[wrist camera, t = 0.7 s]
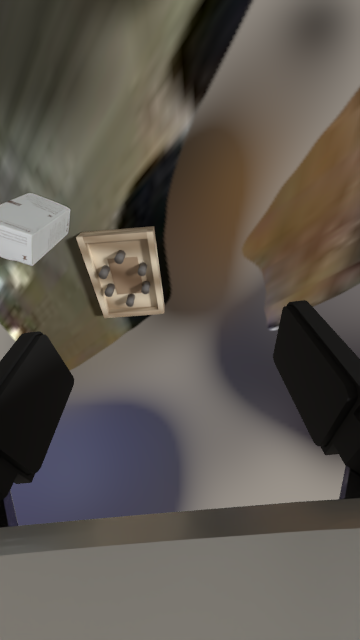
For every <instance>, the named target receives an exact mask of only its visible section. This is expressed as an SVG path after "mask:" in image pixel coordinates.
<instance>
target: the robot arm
mask: <svg viewBox="0 0 360 640" xmlns="http://www.w3.org/2000/svg"><path fill="white" fill-rule="evenodd" d="M273 358H274V362H275V365H276V367H277V369H278V371H279V373H280V375H281V377H282V379H283V381H284V383H285V385H286V387H287V389H288V391H289V393H290V395H291V397H292V399H293V401H294V403H295V405H296V407H297V409H298V411H299V413H300V415H301V417H302V419H303V421H304V423H305V425H306V427H307V429H308V432H309V433H310V435H311V437H312V439H313V441H314V443H315V444H316V445H317V446H321V448H322V450H323V452H324V454H325V455H332V454H339V455H340V457H341V458H342V460H343V462H344V463H345V465H346V466H345V471H344V477H343V482H342V487H341V492H340V497H339V499H338V500H324V501H323V500H322V501H307V502H292V503H279V504H269V505H255V506H243V507H231V508H219V509H206V510H194V511H183V512H171V513H160V514H148V515H136V516H125V517H113V518H103V519H90V520H79V521H68V522H57V523H46V524H35V525H24V526H18V522H17V518H16V513H15V509H14V504H13V500H12V496H11V492H10V489H11V487H12V485H13V482H14V483H16V484H20V483H30V482H32V480H33V477H34V475H35V473H36V472H38V470H39V469H40V468H41V465H42V463H43V461H44V458H45V455H46V453H47V450H48V448H49V445H50V443H51V440H52V438H53V435H54V433H55V430H56V428H57V425H58V423H59V420H60V417H61V415H62V413H63V410H64V408H65V405H66V402H67V400H68V397H69V395H70V392H71V390H72V387H73V385H74V378H73V376H72V374H71V373H70V371H69V369H68V368H67V366H66V365H65V363H64V362H63V360H62V359H61V357H60V355H59V354H58V352H57V351H56V349H55V348H54V346H53V344H52V343H51V341H50V340H49V338H48V337H47V336H46V335H43V334H42V333H41V332H30V333H24V334H22V335H21V336H20V337H19V338H18V339H17V341H16V342H15V343H14V345H13V346H12V347H11V348H10V350H9V351H8V352H7V353H6V355H5V356H4V357H3V359H2V360H1V361H0V640H360V359H359V358H358V357H357V356H356V354H355V353H354V352H353V351H352V350H351V349H350V348H349V347H348V346H347V345H346V343H345V342H344V341H343V340H342V339H341V338H340V337H339V336H338V335H337V334H336V333H335V331H334V330H333V329H332V328H331V327H330V326H329V325H328V324H327V322H326V321H325V320H324V319H323V318H322V317H321V316H320V315H319V314H318V313H317V311H316V310H315V309H314V308H313V307H312V306H311V305H310V304H309V303H308V302H307V301H305V300H304V301H295V302H289V303H288V304H287V306H285V307H284V308H283V310H282V315H281V320H280V325H279V329H278V334H277V339H276V344H275V349H274V354H273Z"/></svg>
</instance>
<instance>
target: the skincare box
mask: <svg viewBox="0 0 360 640" xmlns="http://www.w3.org/2000/svg"><path fill="white" fill-rule="evenodd" d="M69 220H70V209H69V208H68V207H66V206H64V205H61V204H59V203H57V202H54V201H52V200H49V199H46V198H44V197H41V196H38V195H35V194H32V193H27V194H25V195H22V196H20V197H18V198H15V199H13V200H10V201H8V202H5V203H3V204H0V257H2V258H5V259H8V260H14V261H18V262H21V263H24V264H28V265H31V266H33V265H34V264H35V263H36V262H37V261H38V260H39V259H41V258H42V257H43V256H44V255H45V254H46V253H47V252H48V251H49V250H51V249H52V248H53V247H54V246H55V245H56V244H57V243H58V242H59V241H60V240H61V239H63V238H64V237H65V236H66V235H67V234H68V231H69Z"/></svg>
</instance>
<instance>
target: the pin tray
mask: <svg viewBox="0 0 360 640" xmlns="http://www.w3.org/2000/svg"><path fill="white" fill-rule="evenodd" d="M76 239H77V242H78V245H79V248H80V250H81V253H82V256H83V259H84V262H85V265H86V267H87V270H88V273H89V276H90V279H91V281H92V284H93V287H94V290H95V293H96V296H97V298H98V301H99V304H100V307H101V310H102V312H103V315H104V318H111V317H125V316H139V315H152V314H164V299H163V291H162V284H161V276H160V269H159V261H158V254H157V246H156V239H155V231H154V226H153V227H141V228H128V229H115V230H102V231H90V232H81V233H80V234H79V235H78V236H77V237H76Z"/></svg>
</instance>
